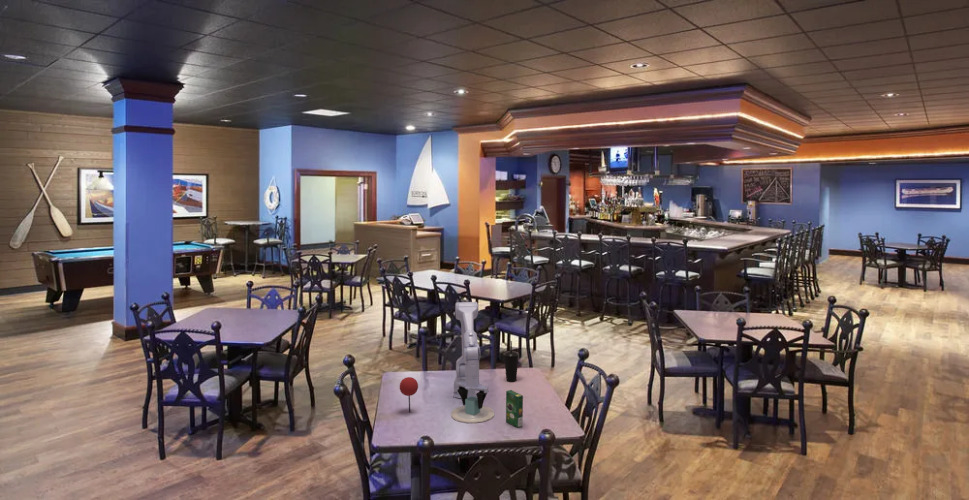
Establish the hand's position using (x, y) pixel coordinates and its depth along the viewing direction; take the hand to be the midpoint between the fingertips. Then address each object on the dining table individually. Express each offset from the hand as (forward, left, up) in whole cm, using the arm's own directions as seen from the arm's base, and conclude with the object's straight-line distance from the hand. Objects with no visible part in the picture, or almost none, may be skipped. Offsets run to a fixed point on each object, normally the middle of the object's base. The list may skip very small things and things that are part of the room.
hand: (472, 406), depth 245 cm
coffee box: (+20, 0, -4) cm, 20 cm away
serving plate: (0, 0, -4) cm, 4 cm away
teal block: (0, 0, -3) cm, 3 cm away
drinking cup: (-8, +47, -4) cm, 48 cm away
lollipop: (-25, -11, -4) cm, 28 cm away
